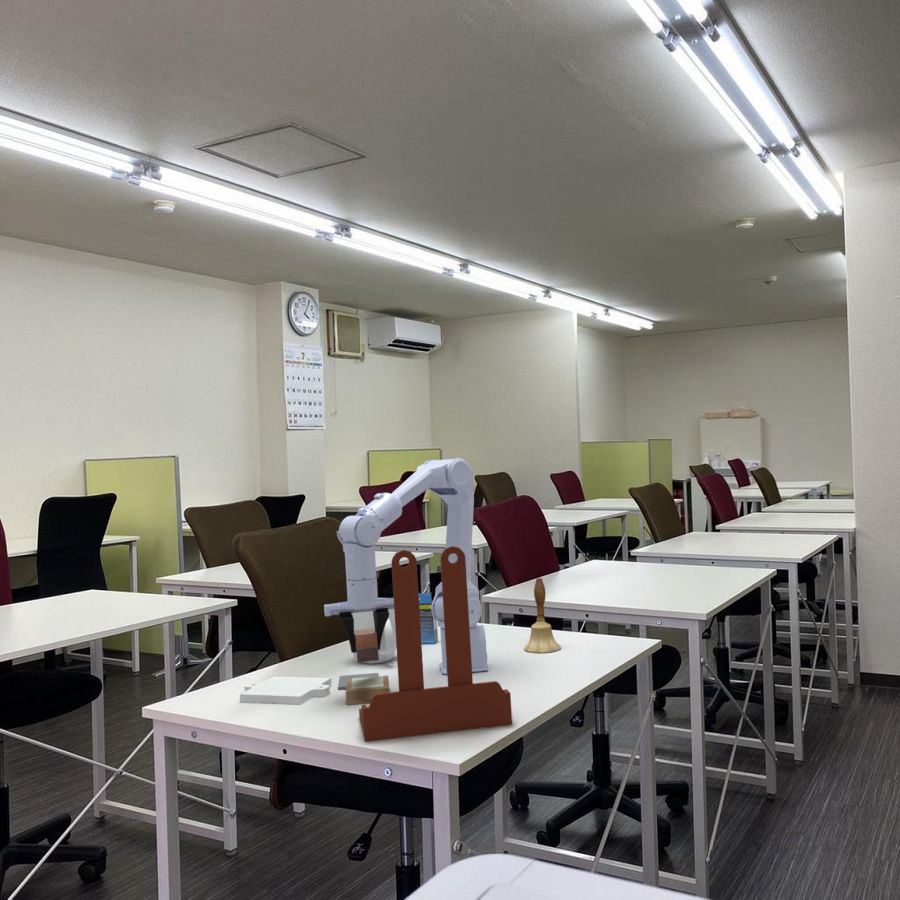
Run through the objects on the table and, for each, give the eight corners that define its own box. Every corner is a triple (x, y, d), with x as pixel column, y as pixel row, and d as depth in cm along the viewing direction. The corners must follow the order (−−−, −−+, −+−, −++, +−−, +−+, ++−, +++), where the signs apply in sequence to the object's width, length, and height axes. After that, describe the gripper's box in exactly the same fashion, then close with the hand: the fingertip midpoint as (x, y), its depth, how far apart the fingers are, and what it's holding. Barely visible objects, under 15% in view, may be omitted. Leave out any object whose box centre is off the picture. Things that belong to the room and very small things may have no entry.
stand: (389, 688, 166) (388, 674, 166) (389, 701, 157) (389, 686, 157) (347, 691, 165) (347, 677, 165) (346, 705, 156) (345, 690, 156)
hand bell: (537, 643, 197) (533, 575, 197) (568, 647, 192) (563, 576, 192) (516, 651, 191) (512, 580, 191) (547, 655, 185) (542, 582, 185)
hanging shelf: (494, 703, 152) (484, 536, 152) (512, 725, 139) (501, 543, 139) (359, 718, 148) (349, 546, 148) (364, 742, 135) (353, 554, 135)
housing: (374, 653, 164) (372, 627, 165) (378, 660, 159) (377, 633, 159) (353, 655, 164) (352, 629, 164) (357, 662, 158) (355, 635, 158)
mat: (378, 675, 176) (378, 672, 176) (378, 686, 167) (378, 684, 167) (339, 678, 176) (339, 675, 176) (338, 689, 167) (337, 687, 167)
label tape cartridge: (438, 640, 207) (435, 590, 207) (434, 644, 203) (431, 592, 203) (403, 640, 209) (400, 590, 209) (399, 644, 205) (396, 593, 205)
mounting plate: (343, 688, 170) (342, 678, 170) (312, 707, 157) (312, 696, 157) (263, 685, 175) (263, 676, 175) (228, 703, 163) (228, 693, 163)
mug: (415, 664, 184) (412, 604, 184) (368, 672, 179) (364, 610, 179) (389, 652, 197) (386, 596, 197) (345, 659, 192) (341, 602, 192)
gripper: (395, 572, 167) (399, 641, 166) (321, 579, 163) (325, 649, 163) (401, 577, 160) (406, 649, 160) (324, 584, 156) (328, 657, 156)
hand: (365, 650), depth 161 cm, fingers closed on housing, 4 cm apart
